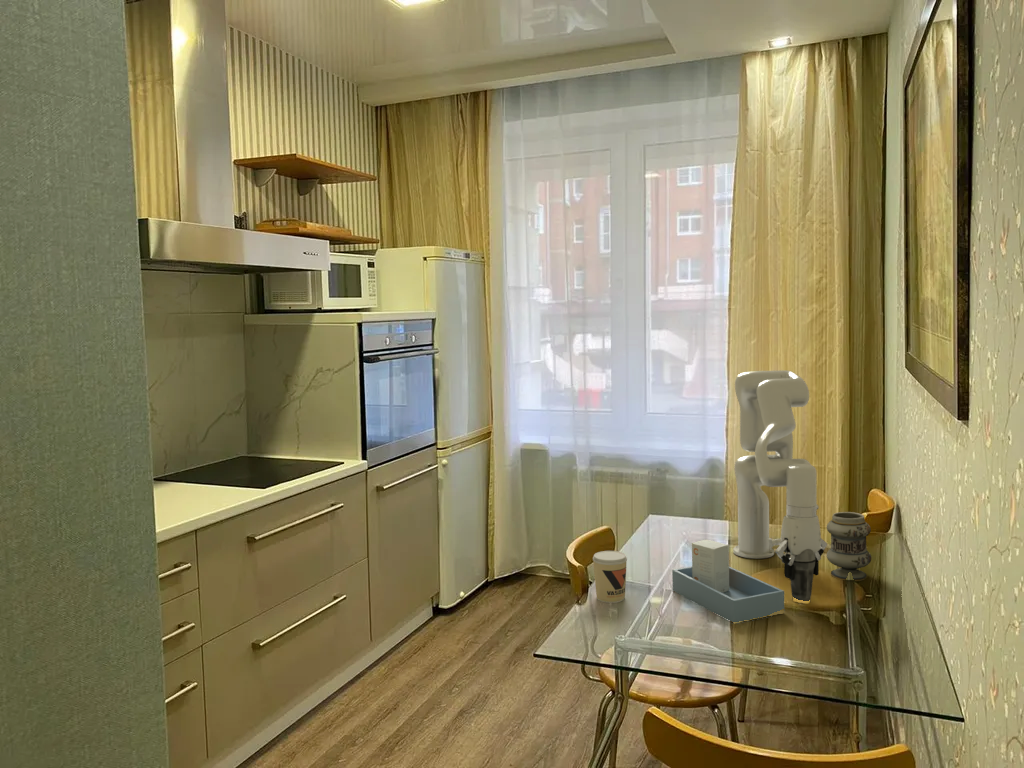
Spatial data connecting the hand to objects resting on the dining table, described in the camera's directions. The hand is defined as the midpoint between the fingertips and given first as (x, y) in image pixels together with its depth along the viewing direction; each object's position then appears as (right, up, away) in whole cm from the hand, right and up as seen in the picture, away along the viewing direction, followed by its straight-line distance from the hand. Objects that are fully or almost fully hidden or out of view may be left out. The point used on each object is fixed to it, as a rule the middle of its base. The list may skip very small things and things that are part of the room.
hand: (801, 575), depth 216 cm
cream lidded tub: (-50, -8, +8) cm, 51 cm away
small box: (-22, -6, +9) cm, 24 cm away
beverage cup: (0, -7, +1) cm, 7 cm away
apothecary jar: (+21, -5, +19) cm, 29 cm away
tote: (-20, -7, +2) cm, 21 cm away
